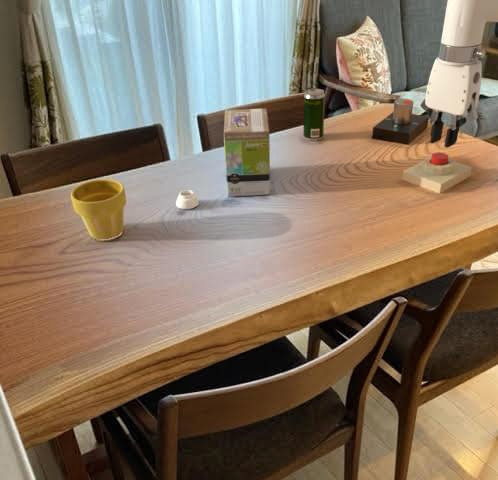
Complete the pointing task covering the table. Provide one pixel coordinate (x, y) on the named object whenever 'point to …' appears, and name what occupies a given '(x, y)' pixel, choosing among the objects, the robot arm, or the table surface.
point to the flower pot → (100, 207)
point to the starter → (436, 174)
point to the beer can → (314, 114)
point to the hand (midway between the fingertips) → (442, 142)
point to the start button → (439, 159)
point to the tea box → (247, 152)
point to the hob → (400, 129)
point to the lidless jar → (187, 200)
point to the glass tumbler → (402, 111)
